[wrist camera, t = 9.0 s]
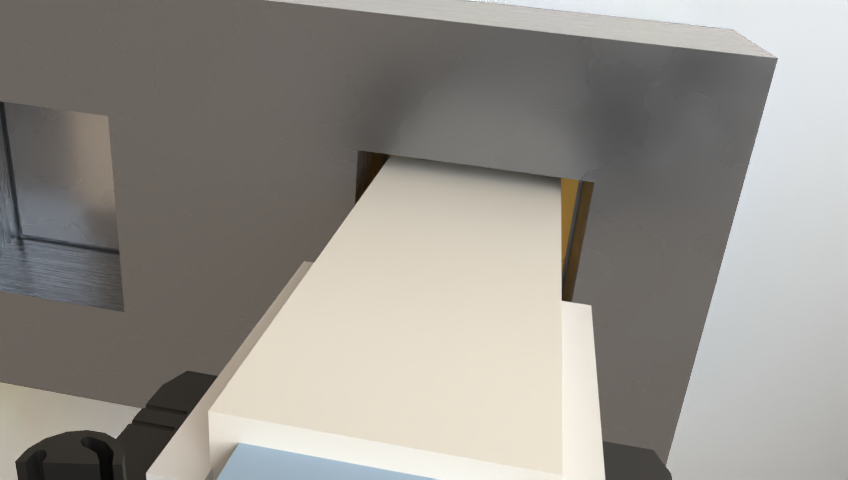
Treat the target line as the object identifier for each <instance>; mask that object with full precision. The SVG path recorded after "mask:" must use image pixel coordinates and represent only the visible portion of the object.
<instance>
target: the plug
mask: <svg viewBox="0 0 848 480" xmlns="http://www.w3.org/2000/svg"><path fill="white" fill-rule="evenodd" d="M208 418H209V446H210V467H212V470H213V480H562V476H563V465H562V274H561V178H558V177H550V176H543V175H536V174H528V173H521V172H514V171H506V170H499V169H491V168H484V167H477V166H469V165H462V164H454V163H447V162H440V161H432V160H425V159H417V158H410V157H403V156H395V155H391V156H390V157H389V159H388V160H387V162H386V163H385V164H384V166H383V167H382V169H381V170H380V171H379V173H378V174H377V176H376V177H375V178H374V180H373V181H372V183H371V184H370V185H369V187H368V188H367V190H366V191H365V192H364V194H363V195H362V197H361V198H360V199H359V201H358V202H357V204H356V205H355V206H354V208H353V209H352V211H351V212H350V213H349V215H348V216H347V218H346V219H345V220H344V222H343V223H342V225H341V226H340V227H339V229H338V230H337V232H336V233H335V234H334V236H333V237H332V239H331V240H330V241H329V243H328V244H327V246H326V247H325V248H324V250H323V251H322V253H321V254H320V255H319V257H318V258H317V260H316V261H315V262H314V264H313V265H312V267H311V268H310V269H309V271H308V272H307V274H306V275H305V276H304V278H303V279H302V281H301V282H300V283H299V285H298V286H297V288H296V289H295V290H294V292H293V293H292V295H291V296H290V297H289V299H288V300H287V302H286V303H285V304H284V306H283V307H282V309H281V310H280V311H279V313H278V314H277V316H276V317H275V318H274V320H273V321H272V323H271V324H270V325H269V327H268V328H267V330H266V331H265V332H264V334H263V335H262V337H261V338H260V339H259V341H258V342H257V344H256V345H255V346H254V348H253V349H252V351H251V352H250V353H249V355H248V356H247V358H246V359H245V360H244V362H243V363H242V365H241V366H240V367H239V369H238V370H237V372H236V373H235V374H234V376H233V377H232V379H231V380H230V381H229V383H228V384H227V386H226V387H225V388H224V390H223V391H222V393H221V394H220V395H219V397H218V398H217V400H216V401H215V402H214V404H213V405H212V407H211V408H210V409H209V411H208Z"/></svg>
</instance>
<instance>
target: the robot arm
mask: <svg viewBox="0 0 848 480" xmlns="http://www.w3.org/2000/svg"><path fill="white" fill-rule="evenodd" d="M313 264H314V263H313V262H306V261H304V262H303V263H302V264H301V266H300V267H299V269H298V270H297V271H296V273H295V274H294V275H293V277H292V278H291V279H290V281H289V282H288V283H287V285H286V286H285V287H284V289H283V290H282V291H281V293H280V294H279V295H278V297H277V298H276V299H275V301H274V302H273V303H272V305H271V306H270V307H269V309H268V310H267V311H266V313H265V314H264V315H263V317H262V318H261V319H260V321H259V322H258V323H257V325H256V326H255V328H254V329H253V330H252V332H251V333H250V334H249V336H248V337H247V338H246V340H245V341H244V342H243V344H242V345H241V346H240V348H239V349H238V350H237V352H236V353H235V354H234V356H233V357H232V358H231V360H230V361H229V362H228V364H227V365H226V366H225V368H224V369H223V370H222V372H221V373H220V374H219V376H216V375H210V374H205V373H199V372H193V371H186V372H184V373H182V374H181V375H179V376H177V377H175V378H174V379H172V380H170V381H168V382H167V383H165V384H163V385H162V386H161V387H160V388H159V389H158V391H157V392H156V393H155V394H154V395H153V396H152V398H151V399H150V400H149V401H148V402H147V403H146V407H145V408H142V409H141V411H140V412H139V413H138V414H137V415H136V416H135V418H134V419H133V421H132V424H129V425H128V426H127V427H126V428H125V429H124V431H123V432H122V433H121V434H120V435H119V436H118V438H117V439H114V438H113V437H111V436H109V435H107V434H106V433H101V432H95V431H89V430H84V431H72V432H65V433H62V434H58V435H55V436H52V437H49V438H46V439H44V440H42V441H40V442H39V443H37V444H35V445H33V446H32V447H30V448H28V449H27V450H26V451H25V452H24V453H23V454H22V455H21V456H20V457H19V458H18V459H17V460H16V462H15V463H16V469H17V475H18V480H213V470H212V467H210V446H209V418H208V411H209V409H210V408H211V407H212V405H213V404H214V402H215V401H216V400H217V398H218V397H219V395H220V394H221V393H222V391H223V390H224V388H225V387H226V386H227V384H228V383H229V381H230V380H231V379H232V377H233V376H234V374H235V373H236V372H237V370H238V369H239V367H240V366H241V365H242V363H243V362H244V360H245V359H246V358H247V356H248V355H249V353H250V352H251V351H252V349H253V348H254V346H255V345H256V344H257V342H258V341H259V339H260V338H261V337H262V335H263V334H264V332H265V331H266V330H267V328H268V327H269V325H270V324H271V323H272V321H273V320H274V318H275V317H276V316H277V314H278V313H279V311H280V310H281V309H282V307H283V306H284V304H285V303H286V302H287V300H288V299H289V297H290V296H291V295H292V293H293V292H294V290H295V289H296V288H297V286H298V285H299V283H300V282H301V281H302V279H303V278H304V276H305V275H306V274H307V272H308V271H309V269H310V268H311V267H312V265H313ZM562 465H563V476H562V480H672V477H671V473H670V472H669V470H668V469H667V468H666V466H665V465H664V464H663V462H662V461H661V459H660V458H659V457H658V455H657V454H656V453H655V451H654V450H651V449H646V448H640V447H634V446H628V445H623V444H617V443H611V442H605V441H602V432H601V420H600V407H599V395H598V383H597V370H596V358H595V346H594V333H593V321H592V309H591V305H585V304H579V303H572V302H566V301H562Z"/></svg>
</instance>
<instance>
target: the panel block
mask: <svg viewBox="0 0 848 480" xmlns="http://www.w3.org/2000/svg"><path fill="white" fill-rule="evenodd" d="M777 59H778V58H776V57H775V56H773V55H772V54H770V53H769V52H767V51H765V50H764V49H762V48H761V47H759V46H758V45H756V44H754V43H753V42H751V41H750V40H748V39H747V38H745V37H744V36H742V35H740V34H739V33H737V32H736V31H734V30H731V29H722V28H713V27H703V26H694V25H685V24H676V23H667V22H658V21H649V20H640V19H631V18H622V17H613V16H603V15H594V14H585V13H576V12H567V11H558V10H549V9H540V8H531V7H522V6H512V5H503V4H494V3H485V2H476V1H467V0H0V382H3V383H8V384H14V385H19V386H25V387H30V388H35V389H41V390H46V391H52V392H57V393H62V394H68V395H73V396H79V397H84V398H90V399H95V400H100V401H106V402H111V403H117V404H122V405H127V406H133V407H138V408H145V407H146V403H147V402H148V401H149V400H150V399H151V398H152V396H153V395H154V394H155V393H156V392H157V391H158V389H159V388H160V387H161V386H162V385H163V384H165V383H167V382H168V381H170V380H172V379H174V378H175V377H177V376H179V375H181V374H182V373H184V372H186V371H193V372H199V373H205V374H210V375H216V376H219V374H220V373H221V372H222V370H223V369H224V368H225V366H226V365H227V364H228V362H229V361H230V360H231V358H232V357H233V356H234V354H235V353H236V352H237V350H238V349H239V348H240V346H241V345H242V344H243V342H244V341H245V340H246V338H247V337H248V336H249V334H250V333H251V332H252V330H253V329H254V328H255V326H256V325H257V323H258V322H259V321H260V319H261V318H262V317H263V315H264V314H265V313H266V311H267V310H268V309H269V307H270V306H271V305H272V303H273V302H274V301H275V299H276V298H277V297H278V295H279V294H280V293H281V291H282V290H283V289H284V287H285V286H286V285H287V283H288V282H289V281H290V279H291V278H292V277H293V275H294V274H295V273H296V271H297V270H298V269H299V267H300V266H301V264H302V263H303V262H304V261H306V262H313V263H314V262H315V261H316V260H317V258H318V257H319V255H320V254H321V253H322V251H323V250H324V248H325V247H326V246H327V244H328V243H329V241H330V240H331V239H332V237H333V236H334V234H335V233H336V232H337V230H338V229H339V227H340V226H341V225H342V223H343V222H344V220H345V219H346V218H347V216H348V215H349V213H350V212H351V211H352V209H353V208H354V206H355V205H356V204H357V202H358V201H359V199H360V198H361V197H362V195H363V194H364V192H365V191H366V190H367V188H368V187H369V185H370V184H371V183H372V181H373V180H374V178H375V177H376V176H377V174H378V173H379V171H380V170H381V169H382V167H383V166H384V164H385V163H386V162H387V160H388V159H389V157H390V156H391V155H395V156H403V157H410V158H417V159H425V160H432V161H440V162H447V163H454V164H462V165H469V166H477V167H484V168H491V169H499V170H506V171H514V172H521V173H528V174H536V175H543V176H550V177H558V178H561V274H562V301H566V302H572V303H579V304H585V305H591V309H592V321H593V333H594V346H595V358H596V370H597V383H598V395H599V407H600V420H601V432H602V441H605V442H611V443H617V444H623V445H628V446H634V447H640V448H646V449H651V450H654V451H655V453H656V454H657V455H658V457H659V458H660V459H661V461H662V462H663V464H664V465H665V466H666V462H667V459H668V455H669V451H670V448H671V444H672V441H673V437H674V433H675V430H676V426H677V422H678V419H679V415H680V411H681V408H682V404H683V401H684V397H685V393H686V390H687V386H688V382H689V379H690V375H691V372H692V368H693V364H694V361H695V357H696V353H697V350H698V346H699V342H700V339H701V335H702V332H703V328H704V324H705V321H706V317H707V313H708V310H709V306H710V302H711V299H712V295H713V292H714V288H715V284H716V281H717V277H718V273H719V270H720V266H721V263H722V259H723V255H724V252H725V248H726V244H727V241H728V237H729V233H730V230H731V226H732V223H733V219H734V215H735V212H736V208H737V204H738V201H739V197H740V193H741V190H742V186H743V183H744V179H745V175H746V172H747V168H748V164H749V161H750V157H751V154H752V150H753V146H754V143H755V139H756V135H757V132H758V128H759V124H760V121H761V117H762V114H763V110H764V106H765V103H766V99H767V95H768V92H769V88H770V84H771V81H772V77H773V74H774V70H775V66H776V63H777Z"/></svg>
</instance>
